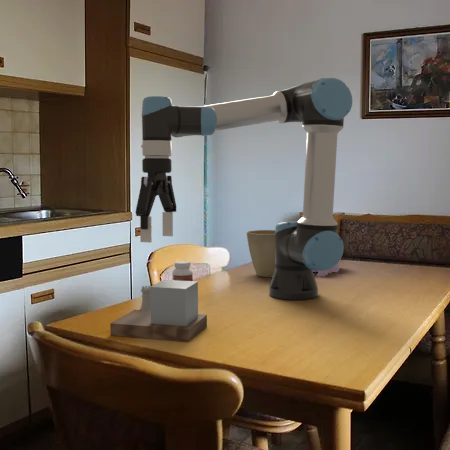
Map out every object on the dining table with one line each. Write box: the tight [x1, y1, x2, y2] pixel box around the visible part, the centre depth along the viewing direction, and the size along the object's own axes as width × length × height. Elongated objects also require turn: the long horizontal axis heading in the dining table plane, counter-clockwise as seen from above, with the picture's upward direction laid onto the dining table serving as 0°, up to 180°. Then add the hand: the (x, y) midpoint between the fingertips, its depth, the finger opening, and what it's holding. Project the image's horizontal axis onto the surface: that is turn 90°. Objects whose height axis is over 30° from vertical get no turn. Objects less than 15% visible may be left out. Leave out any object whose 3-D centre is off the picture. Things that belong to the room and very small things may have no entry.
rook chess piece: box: [138, 285, 152, 311], centre depth 169 cm, size 4×4×8 cm
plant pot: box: [246, 229, 275, 278], centre depth 227 cm, size 15×15×16 cm
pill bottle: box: [172, 260, 194, 281], centre depth 191 cm, size 6×6×11 cm
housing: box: [150, 279, 199, 326], centre depth 153 cm, size 9×9×9 cm
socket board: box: [109, 309, 208, 343], centre depth 155 cm, size 20×14×3 cm
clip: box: [313, 261, 340, 277], centre depth 234 cm, size 20×12×7 cm, turn 157°
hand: (157, 239), depth 163 cm, fingers open, 13 cm apart
